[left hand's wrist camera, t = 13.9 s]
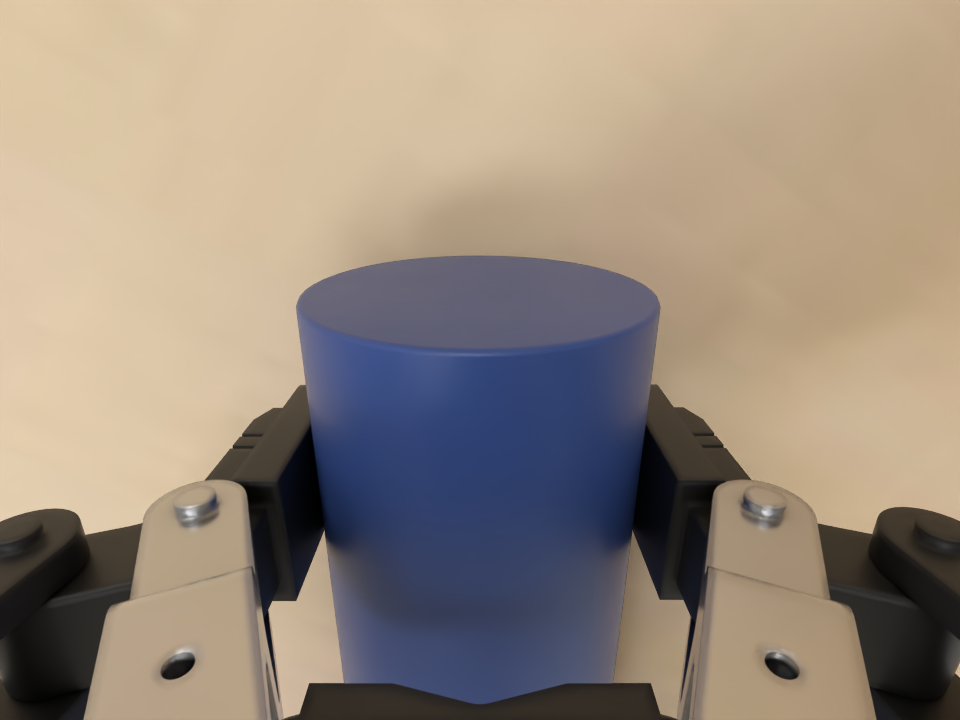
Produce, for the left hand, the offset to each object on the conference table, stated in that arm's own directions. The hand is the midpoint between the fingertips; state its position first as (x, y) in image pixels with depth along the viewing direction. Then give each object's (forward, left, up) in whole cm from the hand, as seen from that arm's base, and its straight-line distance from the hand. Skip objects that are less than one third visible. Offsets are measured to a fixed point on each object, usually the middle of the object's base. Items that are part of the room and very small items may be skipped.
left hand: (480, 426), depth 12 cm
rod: (+9, +2, -1) cm, 10 cm away
